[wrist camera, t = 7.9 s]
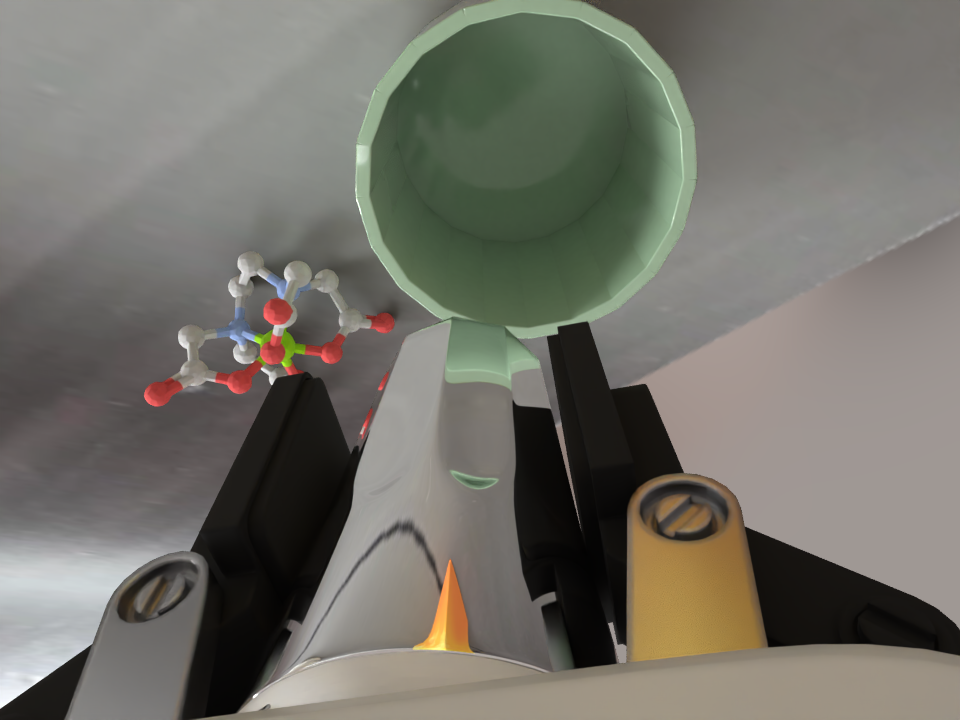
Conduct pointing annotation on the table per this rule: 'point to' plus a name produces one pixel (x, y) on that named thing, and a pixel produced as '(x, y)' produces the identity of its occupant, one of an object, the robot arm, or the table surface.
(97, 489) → the table surface
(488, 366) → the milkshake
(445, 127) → the pen holder
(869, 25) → the table surface
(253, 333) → the molecular model
